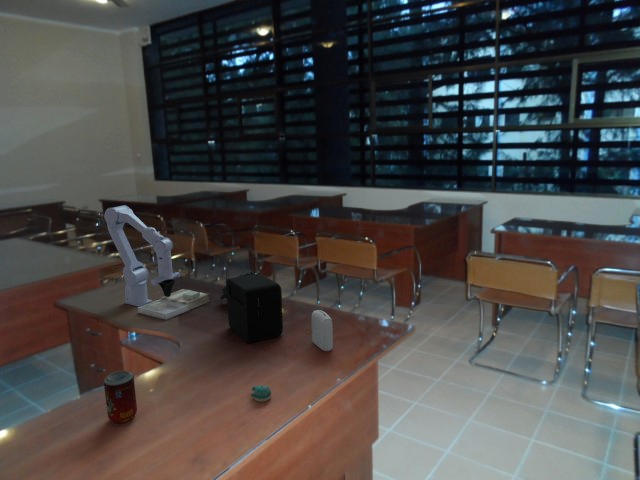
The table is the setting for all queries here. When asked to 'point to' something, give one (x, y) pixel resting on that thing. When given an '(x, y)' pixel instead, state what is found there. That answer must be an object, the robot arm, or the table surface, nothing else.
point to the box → (164, 310)
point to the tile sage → (191, 295)
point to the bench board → (191, 304)
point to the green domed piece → (261, 393)
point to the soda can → (120, 397)
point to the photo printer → (322, 330)
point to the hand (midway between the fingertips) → (167, 296)
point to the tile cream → (157, 306)
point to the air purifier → (254, 307)
